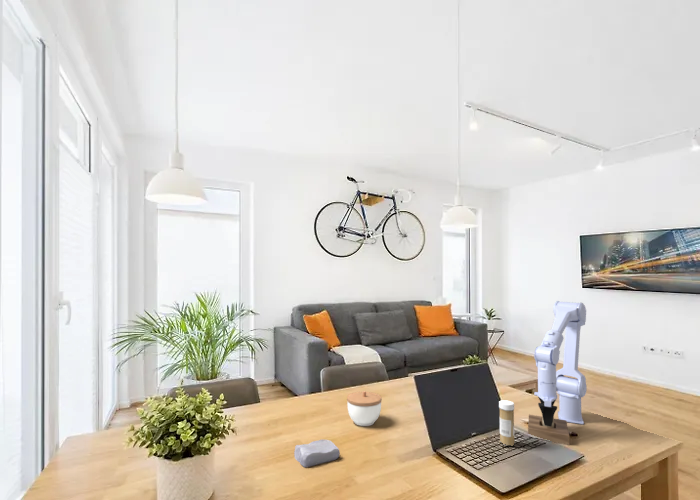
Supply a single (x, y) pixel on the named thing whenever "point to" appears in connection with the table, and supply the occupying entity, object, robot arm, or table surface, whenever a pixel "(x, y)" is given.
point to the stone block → (316, 453)
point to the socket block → (549, 430)
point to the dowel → (548, 426)
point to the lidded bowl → (364, 407)
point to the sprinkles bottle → (506, 422)
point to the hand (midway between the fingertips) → (547, 421)
